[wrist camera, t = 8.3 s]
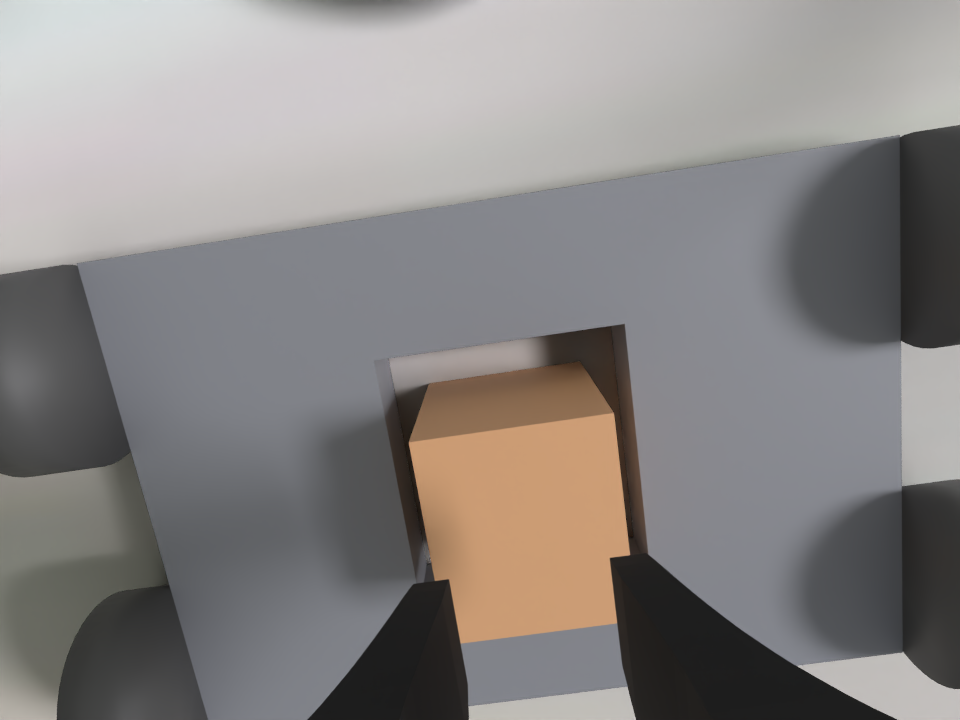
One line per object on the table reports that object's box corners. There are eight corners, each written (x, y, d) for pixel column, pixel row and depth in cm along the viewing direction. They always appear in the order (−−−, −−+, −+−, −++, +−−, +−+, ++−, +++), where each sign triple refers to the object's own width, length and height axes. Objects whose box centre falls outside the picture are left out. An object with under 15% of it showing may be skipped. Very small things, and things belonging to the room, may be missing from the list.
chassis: (919, 601, 20) (1063, 728, 15) (185, 695, 21) (92, 843, 16) (920, 133, 17) (1100, 99, 12) (60, 268, 18) (-103, 287, 13)
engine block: (599, 518, 19) (637, 620, 14) (456, 538, 19) (447, 645, 15) (579, 360, 18) (614, 413, 13) (429, 383, 18) (408, 442, 13)
